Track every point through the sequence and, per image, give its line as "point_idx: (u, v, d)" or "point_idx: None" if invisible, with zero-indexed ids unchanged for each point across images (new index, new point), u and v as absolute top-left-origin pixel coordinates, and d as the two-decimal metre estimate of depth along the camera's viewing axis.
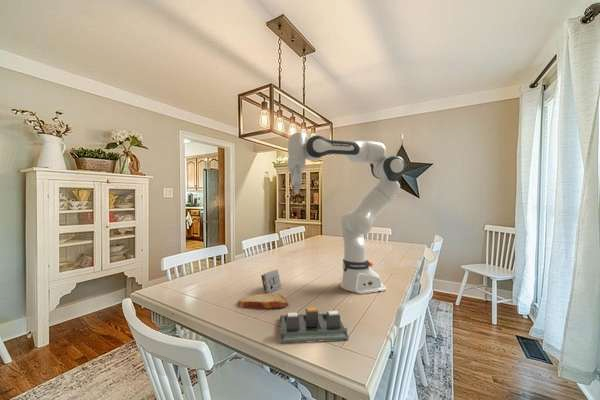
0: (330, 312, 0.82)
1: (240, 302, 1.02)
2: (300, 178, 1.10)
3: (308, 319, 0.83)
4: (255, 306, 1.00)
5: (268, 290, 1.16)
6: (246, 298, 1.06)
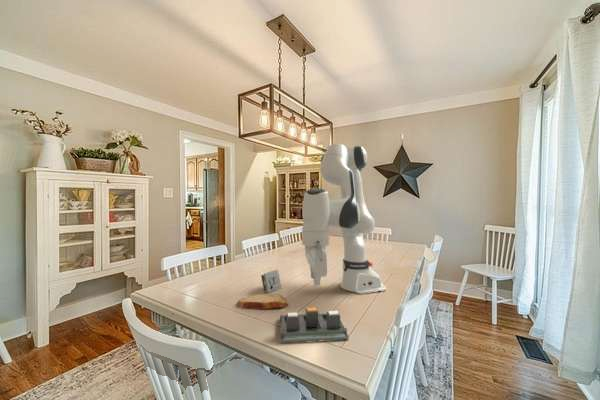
0: (330, 312, 0.82)
1: (240, 302, 1.01)
2: (324, 268, 0.68)
3: (308, 319, 0.83)
4: (255, 306, 0.99)
5: (268, 290, 1.16)
6: (246, 298, 1.05)
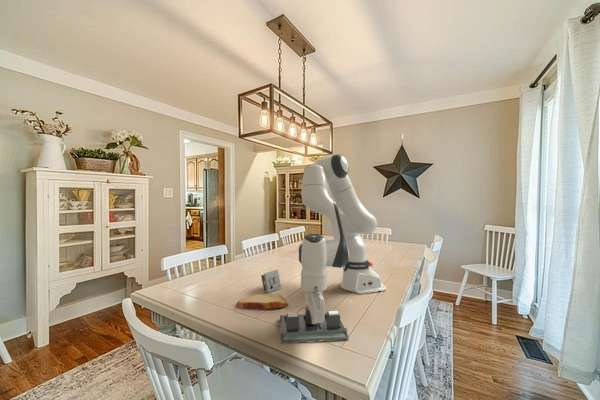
0: (330, 312, 0.82)
1: (239, 303, 1.01)
2: (322, 315, 0.73)
3: (307, 317, 0.85)
4: (255, 307, 0.99)
5: (268, 290, 1.16)
6: (245, 299, 1.05)
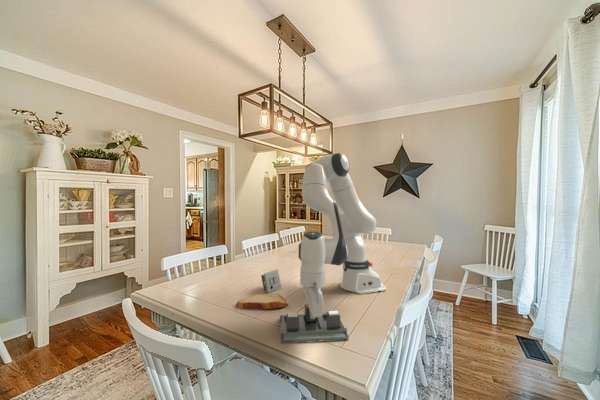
0: (330, 312, 0.82)
1: (239, 303, 1.01)
2: (320, 310, 0.75)
3: (307, 314, 0.87)
4: (255, 307, 0.99)
5: (268, 290, 1.16)
6: (245, 299, 1.05)
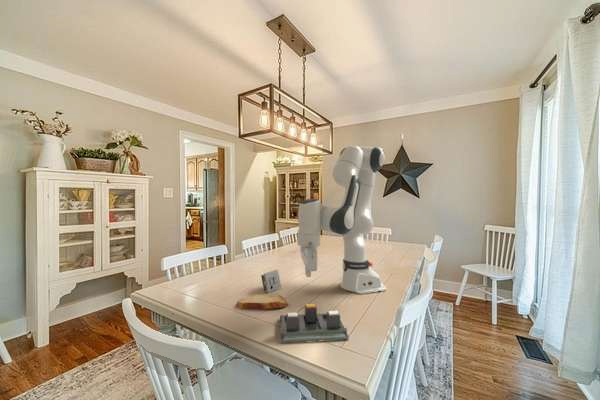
0: (330, 312, 0.82)
1: (239, 303, 1.00)
2: (315, 264, 0.84)
3: (307, 315, 0.86)
4: (255, 307, 0.99)
5: (268, 290, 1.16)
6: (245, 299, 1.04)
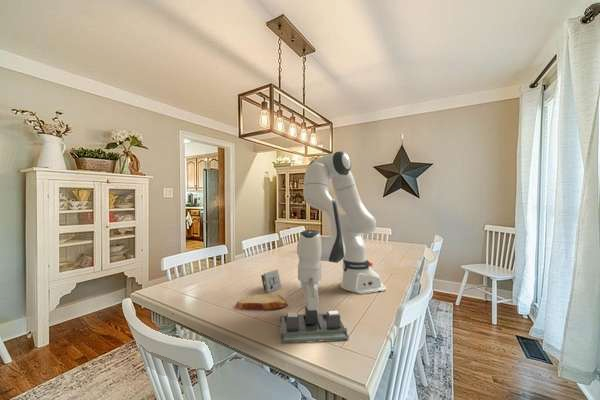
0: (330, 312, 0.82)
1: (239, 304, 1.00)
2: (316, 303, 0.80)
3: (307, 316, 0.85)
4: (255, 307, 0.99)
5: (268, 290, 1.16)
6: (244, 300, 1.04)
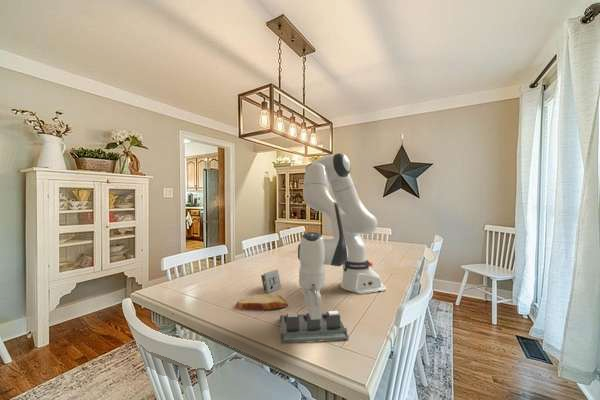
0: (330, 312, 0.82)
1: (239, 304, 1.00)
2: (319, 312, 0.75)
3: (309, 324, 0.80)
4: (254, 307, 0.99)
5: (268, 290, 1.16)
6: (244, 300, 1.04)
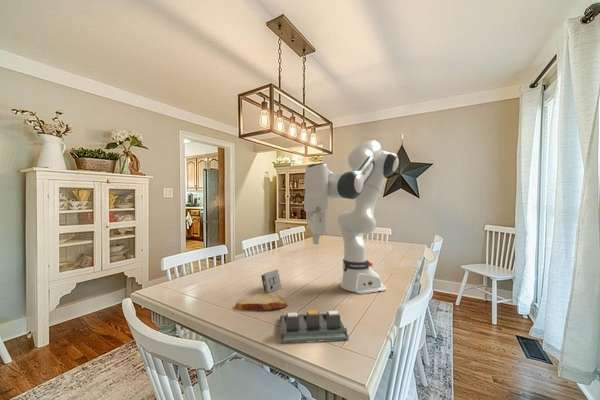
0: (330, 312, 0.82)
1: (238, 305, 0.99)
2: (323, 228, 0.80)
3: (309, 323, 0.81)
4: (254, 308, 0.98)
5: (268, 290, 1.16)
6: (244, 300, 1.04)
